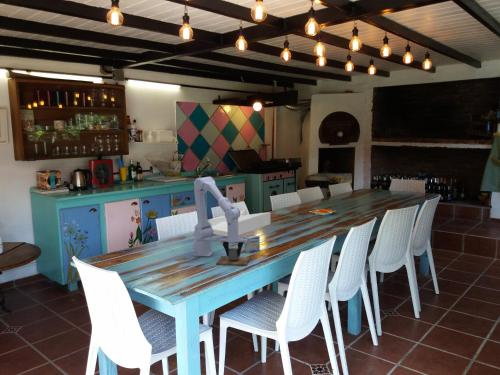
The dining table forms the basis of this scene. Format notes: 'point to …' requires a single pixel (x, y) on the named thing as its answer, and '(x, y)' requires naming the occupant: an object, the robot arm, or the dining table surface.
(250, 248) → the medicine box
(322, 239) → the dining table surface
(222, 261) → the post board
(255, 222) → the white long open box
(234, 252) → the cap
